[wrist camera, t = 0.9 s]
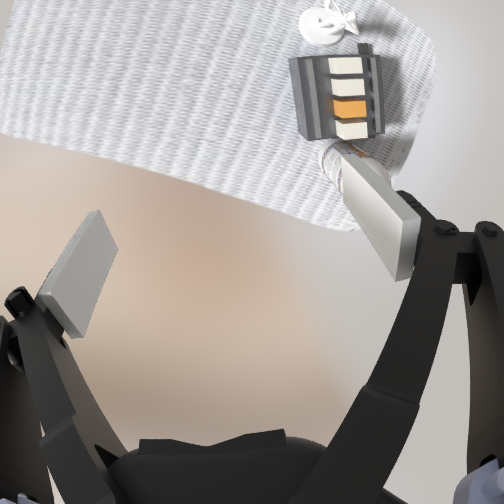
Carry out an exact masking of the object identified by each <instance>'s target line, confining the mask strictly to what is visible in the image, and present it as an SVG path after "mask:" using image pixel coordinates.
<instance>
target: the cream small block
mask: <svg viewBox="0 0 504 504" xmlns="http://www.w3.org/2000/svg"><path fill="white" fill-rule="evenodd" d="M335 121H336V132H337V136H339V137H340V138H342V139H343V140H349V139H359V138H368V134H367V122H365V121H363V120H361V119H359V118H355V119H343V120H335Z"/></svg>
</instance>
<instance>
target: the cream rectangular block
mask: <svg viewBox="0 0 504 504" xmlns="http://www.w3.org/2000/svg"><path fill="white" fill-rule="evenodd" d="M328 60H329V68H330V73H332V74H352V73H363V70H362V61H361V57H346V58H328Z"/></svg>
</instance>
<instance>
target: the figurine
mask: <svg viewBox="0 0 504 504" xmlns="http://www.w3.org/2000/svg"><path fill="white" fill-rule="evenodd" d="M330 1H331V0H325V7H322V6H315V7H311V8H309V9H307V10H306V11H304V12H303V14H302V15H301V17H300V20H299V29H300V32H301V34H302V36H303V37H304V38H305V39H306V40H307V41H308V42H309V43H311V44H313V45H315V46H318V47H331V46H334V45H335V44H337V43H338V42H339V41H340V40H341V39H342V37H343V34H344V30H345V29H347V30H349V31H351V32H352V33H354V34H356V35H359V34H360V32H359V30H358V27H357V23H356V22H357V20H356V19H357V13H356V12H354V11H352V12H349V13H347V12H346V11H345V10H343V11H340V10H339V9H338V7H337V6H336V4H335V2H334V1H335V0H332V2H333V3H334V4H335V6H336V7H337V9H338V11H333V10H332V9H331V8H330Z"/></svg>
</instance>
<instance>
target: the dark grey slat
mask: <svg viewBox="0 0 504 504" xmlns="http://www.w3.org/2000/svg"><path fill="white" fill-rule="evenodd" d="M357 45H358V52H359V55H369V52H368V45H367V43H358V44H357ZM368 138H375V134H370V135H368Z"/></svg>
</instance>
